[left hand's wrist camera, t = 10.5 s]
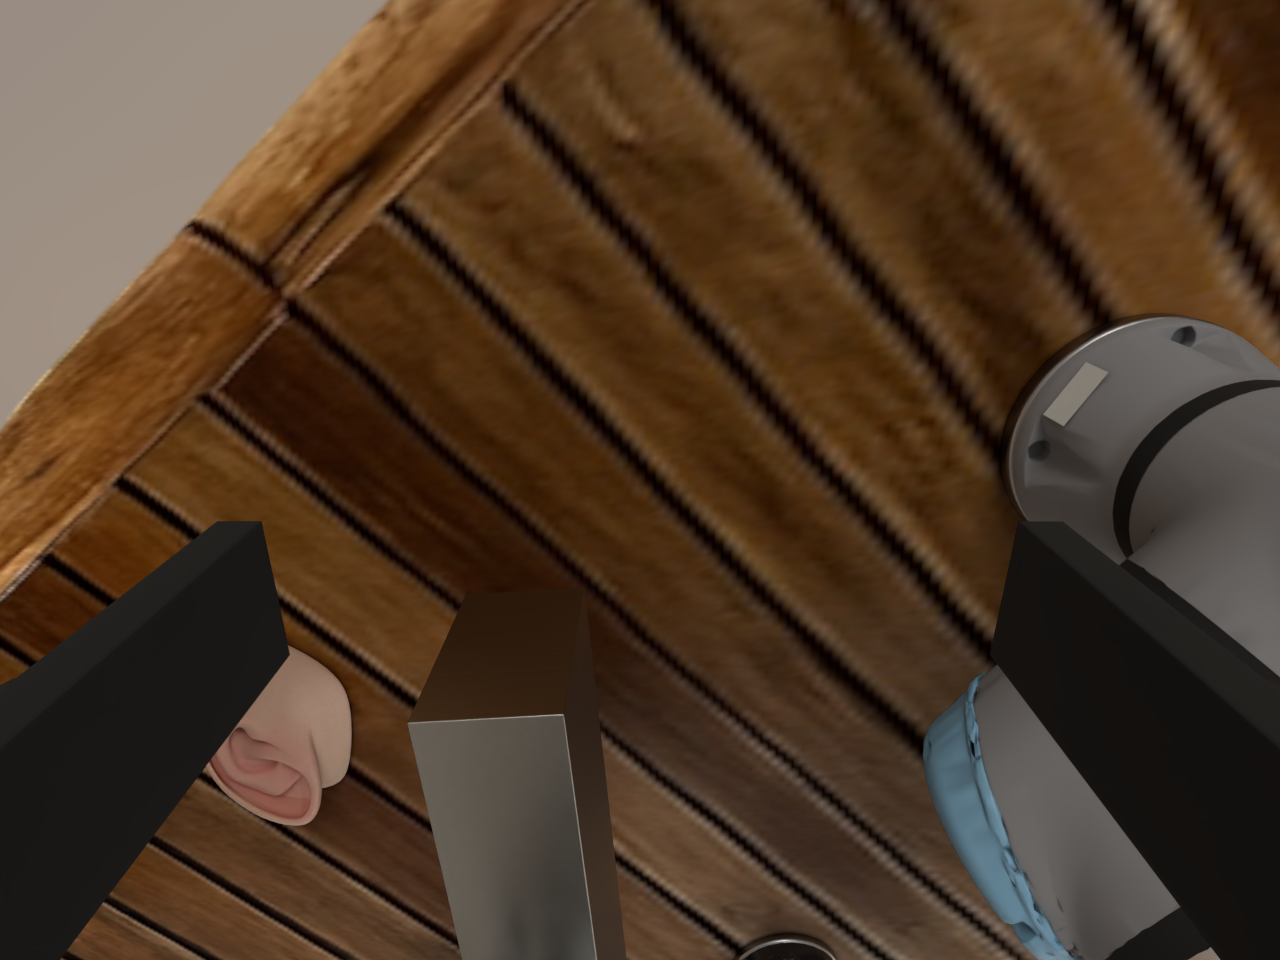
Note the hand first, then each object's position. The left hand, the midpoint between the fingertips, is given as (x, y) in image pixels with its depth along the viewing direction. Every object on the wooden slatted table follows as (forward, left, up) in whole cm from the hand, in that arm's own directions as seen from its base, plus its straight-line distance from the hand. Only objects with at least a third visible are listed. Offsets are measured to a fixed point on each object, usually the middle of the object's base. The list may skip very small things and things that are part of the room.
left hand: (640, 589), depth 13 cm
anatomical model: (-2, +39, -32) cm, 50 cm away
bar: (-13, +19, -17) cm, 28 cm away
